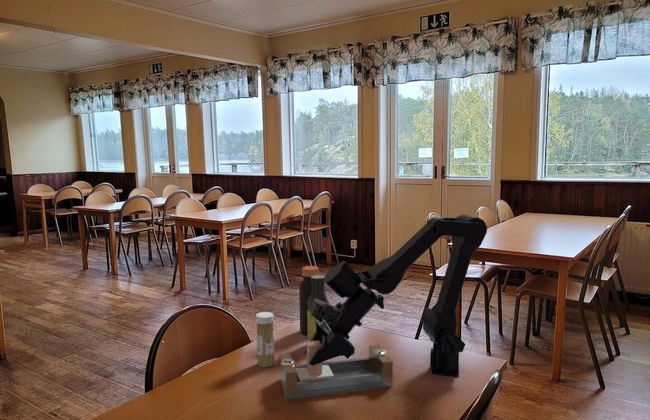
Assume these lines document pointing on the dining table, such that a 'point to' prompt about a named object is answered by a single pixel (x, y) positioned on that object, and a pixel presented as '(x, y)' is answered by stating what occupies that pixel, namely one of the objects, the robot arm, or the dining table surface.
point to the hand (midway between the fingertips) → (308, 359)
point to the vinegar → (305, 295)
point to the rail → (339, 375)
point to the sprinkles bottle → (265, 339)
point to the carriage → (316, 370)
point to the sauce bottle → (317, 293)
